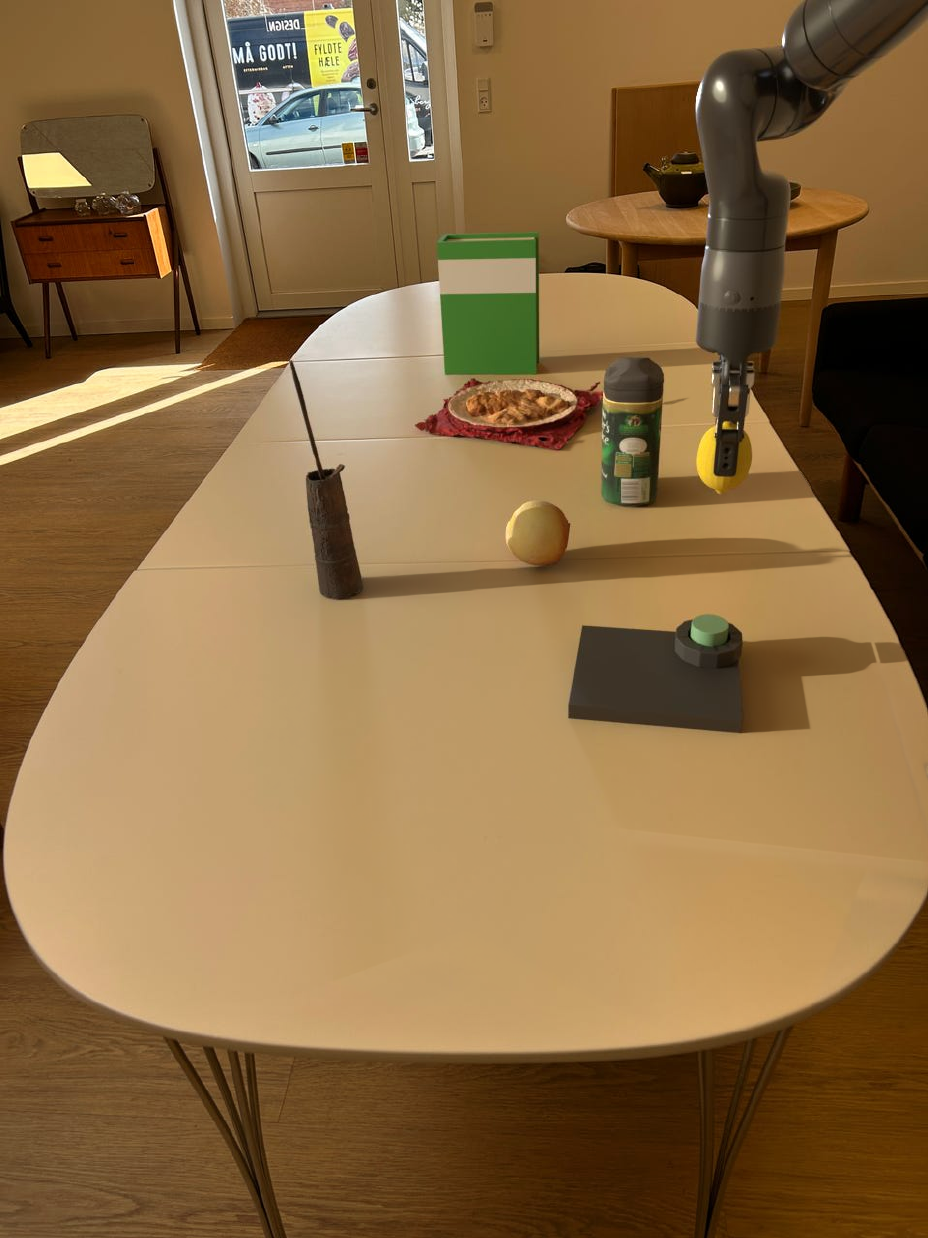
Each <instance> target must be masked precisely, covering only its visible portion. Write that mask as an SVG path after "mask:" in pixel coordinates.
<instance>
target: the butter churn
mask: <svg viewBox="0 0 928 1238" xmlns="http://www.w3.org/2000/svg"><path fill="white" fill-rule="evenodd" d="M288 364H289V367H290V371H291V377H292V381H293V384H294V388H295V391H296V394H297V397H298V402H299V407H300V409H301V412H302V416H303V420H304V424H305V428H306V431H307V435H308V438H309V442H310V443H309V444H310V446H311V451H312V455H313V456H314V460H315V465H316V468H317V469H316V470H312V471H308V472H307V474H306V475H305V488H306V502H307V512H308V521H309V524H310V529H311V536H312V541H313V551H314V560H315V565H316V567H315V568H316V574H317V583H318V591H319V594H320V595H322V597H324V598H326V599H329V600H330V599H333V600H334V599H337V600H338V599H346V598H349V597H350V596H352V595H357V594H359V593H360V592H361V591H362V590H363V589H364V583H363V579H362V573H361V569H360V564H359V560H358V556H357V550H356V548H355V543H354V539H353V532H352V527H351V523H350V513H349V512H348V511H349V510H348V509H349V508H348V504H347V500H346V495H345V490H344V485H343V480H342V476H341V472H343V471H344V470H345V468H346V466H345V465H344V464H342V463H340V464H338V465H337V466H336V468H332V467H331V468H323V466H322V463H321V460H320V457H319V456H320V455H319V451H318V446H317V444H316V440H315V436H314V432H313V428H312V425H311V422H310V418H309V413H308V409H307V405H306V400H305V397H304V393H303V390H302V386H301V381H300V380H299V379H300V378H299V377H298V373H297V370H296V367H295V364H294V362H293V360H292V359H290V360H289V361H288Z"/></svg>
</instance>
